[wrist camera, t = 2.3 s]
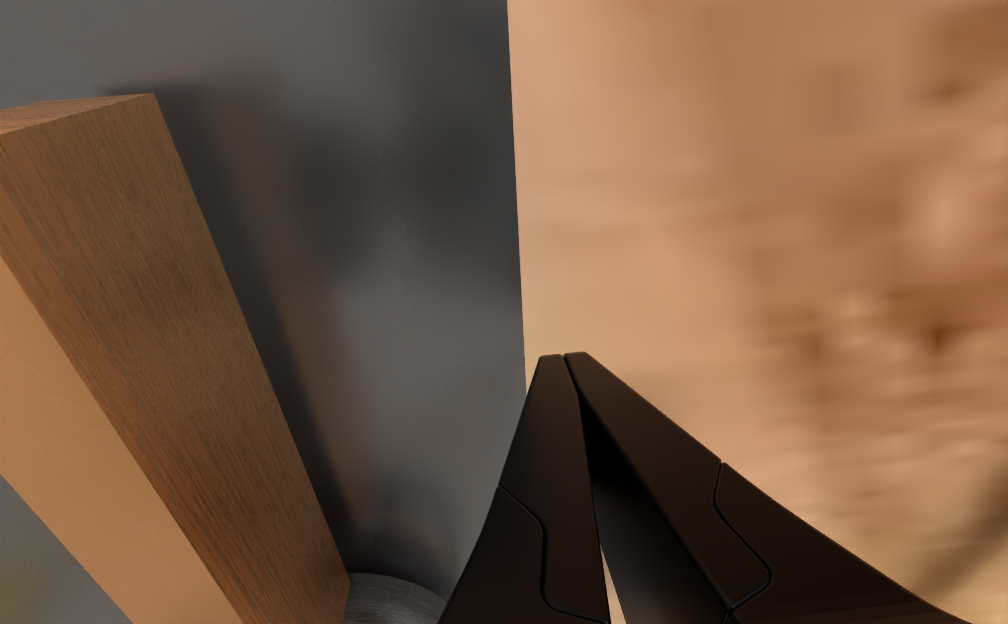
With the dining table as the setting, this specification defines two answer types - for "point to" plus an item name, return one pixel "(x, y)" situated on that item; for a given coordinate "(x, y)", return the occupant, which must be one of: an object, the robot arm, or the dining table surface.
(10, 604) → the chuck base plate
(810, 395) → the dining table surface
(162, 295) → the wooden bar
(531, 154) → the dining table surface
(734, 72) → the dining table surface
